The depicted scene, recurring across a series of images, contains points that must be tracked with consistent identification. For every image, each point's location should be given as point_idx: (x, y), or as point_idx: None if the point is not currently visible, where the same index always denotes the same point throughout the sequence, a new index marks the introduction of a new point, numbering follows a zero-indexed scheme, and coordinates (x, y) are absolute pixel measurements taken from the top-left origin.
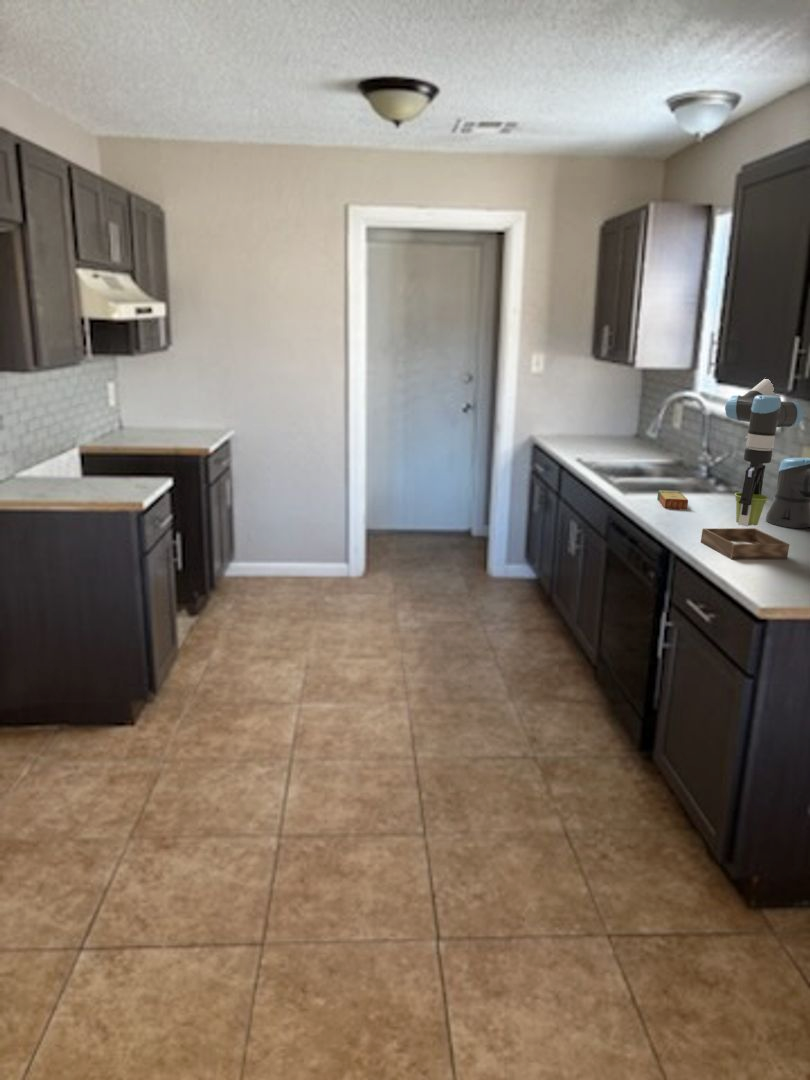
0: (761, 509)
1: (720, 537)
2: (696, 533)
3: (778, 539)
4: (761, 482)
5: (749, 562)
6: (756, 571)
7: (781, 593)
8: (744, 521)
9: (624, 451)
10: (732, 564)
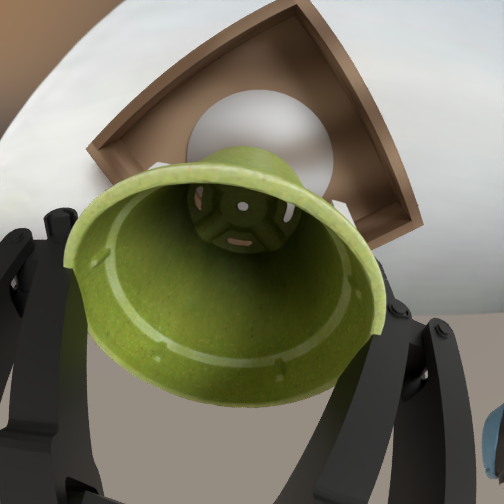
0: (200, 321)
1: (160, 79)
2: (433, 12)
3: None
4: (391, 470)
5: None
6: (62, 207)
7: None
8: None
9: None
10: (73, 146)
